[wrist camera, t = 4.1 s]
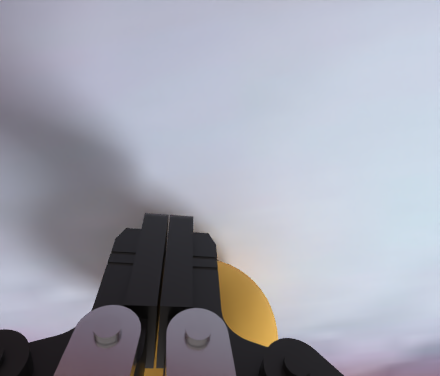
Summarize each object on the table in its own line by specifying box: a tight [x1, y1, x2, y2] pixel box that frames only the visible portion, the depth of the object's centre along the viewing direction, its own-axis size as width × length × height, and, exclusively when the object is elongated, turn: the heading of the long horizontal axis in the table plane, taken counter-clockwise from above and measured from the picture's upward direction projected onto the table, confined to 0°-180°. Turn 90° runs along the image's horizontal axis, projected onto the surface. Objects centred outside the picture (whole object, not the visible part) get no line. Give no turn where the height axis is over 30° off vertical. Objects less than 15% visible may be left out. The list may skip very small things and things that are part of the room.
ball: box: [144, 261, 278, 376], centre depth 12 cm, size 6×6×6 cm
